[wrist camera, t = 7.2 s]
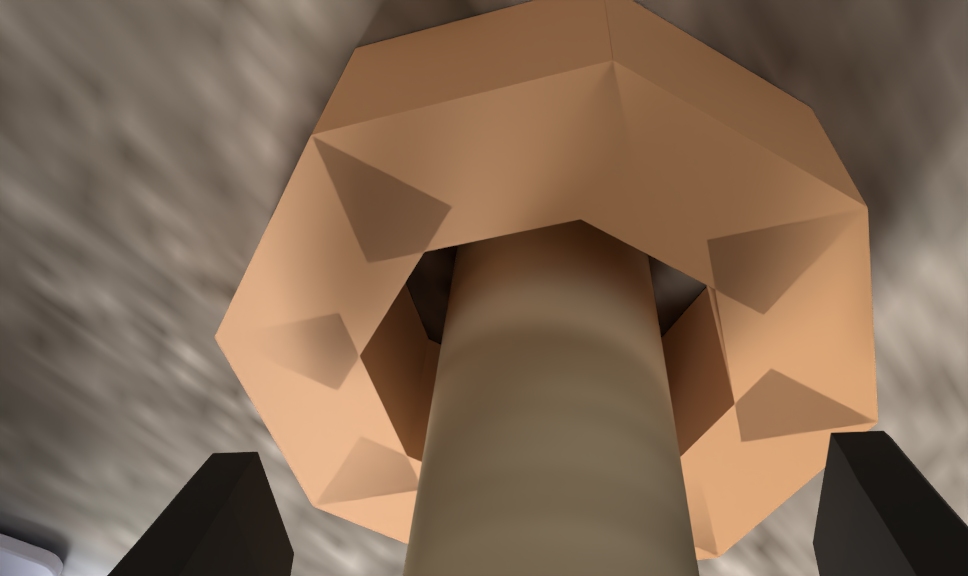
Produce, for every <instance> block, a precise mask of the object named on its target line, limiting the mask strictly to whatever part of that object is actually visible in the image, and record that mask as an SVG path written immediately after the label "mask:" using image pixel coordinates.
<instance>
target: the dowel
mask: <svg viewBox="0 0 968 576" xmlns="http://www.w3.org/2000/svg"><path fill="white" fill-rule="evenodd" d="M403 576H699V571H698V565H697V558H696V552H695V546H694V540H693V534H692V527H691V521H690V515H689V509H688V502H687V496H686V490H685V484H684V477H683V471H682V465H681V459H680V453H679V446H678V440H677V434H676V428H675V421H674V415H673V409H672V403H671V396H670V390H669V384H668V378H667V372H666V365H665V359H664V353H663V347H662V340H661V334H660V328H659V322H658V315H657V309H656V303H655V297H654V291H653V284H652V278H651V272H650V266H649V259H648V254H646V253H644V252H642V251H641V250H639V249H637V248H635V247H633V246H631V245H629V244H627V243H625V242H623V241H621V240H619V239H618V238H616V237H614V236H612V235H610V234H608V233H606V232H604V231H602V230H600V229H598V228H597V227H595V226H593V225H591V224H589V223H587V222H585V221H583V220H581V219H579V220H574V221H569V222H564V223H560V224H555V225H550V226H545V227H541V228H536V229H531V230H526V231H522V232H517V233H512V234H507V235H503V236H498V237H493V238H488V239H484V240H479V241H474V242H469V243H464V244H460V245H458V248H457V253H456V259H455V265H454V271H453V277H452V283H451V289H450V295H449V301H448V307H447V313H446V319H445V325H444V331H443V337H442V343H441V349H440V355H439V361H438V367H437V373H436V380H435V386H434V392H433V398H432V404H431V410H430V416H429V422H428V428H427V434H426V440H425V446H424V452H423V458H422V464H421V470H420V476H419V482H418V488H417V494H416V500H415V506H414V512H413V518H412V524H411V530H410V536H409V542H408V548H407V554H406V560H405V566H404V572H403Z"/></svg>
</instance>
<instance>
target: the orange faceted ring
mask: <svg viewBox="0 0 968 576" xmlns="http://www.w3.org/2000/svg"><path fill="white" fill-rule="evenodd" d="M579 219H581V220H583V221H585V222H587V223H589V224H591V225H593V226H595V227H597V228H598V229H600V230H602V231H604V232H606V233H608V234H610V235H612V236H614V237H616V238H618V239H619V240H621V241H623V242H625V243H627V244H629V245H631V246H633V247H635V248H637V249H639V250H641V251H642V252H644V253H646V254H648V255H650V256H652V257H654V258H656V259H658V260H660V261H662V262H663V263H665V264H667V265H669V266H671V267H673V268H675V269H677V270H679V271H681V272H683V273H685V274H686V275H688V276H690V277H692V278H694V279H696V280H698V281H700V282H702V283H704V284H706V285H707V287H706V288H705V289H704V291H703V292H702V293H701V294H700V295H699V296H698V297H697V298H696V300H695V301H694V302H693V303H692V304H691V305H690V306H689V307H688V309H687V310H686V311H685V312H684V313H683V314H682V315H681V316H680V318H679V319H678V320H677V321H676V322H675V323H674V324H673V325H672V327H671V328H670V329H669V330H668V331H667V332H666V333H665V335H664V336H663V337H662V338H661V340H662V347H663V353H664V359H665V365H666V372H667V378H668V384H669V390H670V396H671V403H672V409H673V415H674V421H675V428H676V434H677V440H678V446H679V453H680V459H681V465H682V471H683V477H684V484H685V490H686V496H687V502H688V509H689V515H690V521H691V527H692V534H693V540H694V546H695V552H696V558H697V560H701V559H709V558H717V557H720V556H721V555H722V554H723V553H724V552H726V551H727V550H728V549H729V548H730V547H732V546H733V545H734V544H735V543H736V542H737V541H739V540H740V539H741V538H742V537H743V536H744V535H746V534H747V533H748V532H749V531H750V530H752V529H753V528H754V527H755V526H756V525H757V524H759V523H760V522H761V521H762V520H763V519H764V518H766V517H767V516H768V515H769V514H770V513H772V512H773V511H774V510H775V509H776V508H777V507H779V506H780V505H781V504H782V503H783V502H785V501H786V500H787V499H788V498H789V497H790V496H792V495H793V494H794V493H795V492H796V491H797V490H799V489H800V488H801V487H802V486H803V485H805V484H806V483H807V482H808V481H809V480H810V479H812V478H813V477H814V476H815V475H816V474H817V473H819V472H820V471H821V470H822V469H823V468H825V466H826V459H827V453H828V447H829V441H830V435H831V433H834V432H864V431H868V430H869V429H870V428H872V427H873V426H874V425H875V424H876V423H878V409H877V388H876V368H875V348H874V327H873V307H872V286H871V266H870V245H869V225H868V207H867V206H866V204H865V202H864V200H863V199H862V197H861V195H860V193H859V192H858V190H857V188H856V186H855V184H854V183H853V181H852V179H851V177H850V176H849V174H848V172H847V170H846V169H845V167H844V165H843V163H842V161H841V160H840V158H839V156H838V154H837V153H836V151H835V149H834V147H833V146H832V144H831V142H830V140H829V138H828V137H827V135H826V133H825V131H824V130H823V128H822V126H821V124H820V123H819V121H818V119H817V117H816V115H815V114H814V112H813V110H812V108H810V107H809V106H807V105H805V104H804V103H802V102H800V101H799V100H797V99H795V98H794V97H792V96H790V95H789V94H787V93H785V92H784V91H782V90H780V89H779V88H777V87H775V86H774V85H772V84H770V83H769V82H767V81H765V80H764V79H762V78H760V77H759V76H757V75H755V74H754V73H752V72H750V71H749V70H747V69H745V68H744V67H742V66H741V65H739V64H737V63H736V62H734V61H732V60H731V59H729V58H727V57H726V56H724V55H722V54H721V53H719V52H717V51H716V50H714V49H712V48H711V47H709V46H707V45H706V44H704V43H702V42H701V41H699V40H697V39H696V38H694V37H692V36H691V35H689V34H687V33H686V32H684V31H682V30H681V29H679V28H677V27H676V26H674V25H672V24H671V23H669V22H667V21H666V20H664V19H662V18H661V17H659V16H657V15H656V14H654V13H652V12H651V11H649V10H647V9H646V8H644V7H642V6H641V5H639V4H637V3H636V2H634V1H632V0H534V1H530V2H526V3H523V4H519V5H515V6H511V7H508V8H504V9H500V10H496V11H493V12H489V13H485V14H481V15H478V16H474V17H470V18H466V19H463V20H459V21H455V22H451V23H448V24H444V25H440V26H436V27H433V28H429V29H425V30H421V31H418V32H414V33H410V34H407V35H403V36H399V37H395V38H392V39H388V40H384V41H380V42H377V43H373V44H369V45H365V46H362V47H358V48H355V50H354V52H353V54H352V56H351V58H350V60H349V62H348V64H347V66H346V68H345V70H344V72H343V73H342V75H341V77H340V79H339V81H338V83H337V85H336V87H335V89H334V91H333V93H332V95H331V97H330V99H329V101H328V103H327V105H326V107H325V109H324V111H323V113H322V115H321V117H320V119H319V120H318V122H317V124H316V126H315V128H314V130H313V132H312V134H311V136H310V138H309V140H308V143H307V145H306V147H305V149H304V151H303V153H302V155H301V157H300V159H299V161H298V163H297V166H296V168H295V170H294V172H293V174H292V176H291V178H290V180H289V182H288V184H287V186H286V189H285V191H284V193H283V195H282V197H281V199H280V201H279V203H278V205H277V207H276V209H275V212H274V214H273V216H272V218H271V220H270V222H269V224H268V226H267V228H266V230H265V233H264V235H263V237H262V239H261V241H260V243H259V245H258V247H257V249H256V251H255V253H254V256H253V258H252V260H251V262H250V264H249V266H248V268H247V270H246V272H245V274H244V276H243V279H242V281H241V283H240V285H239V287H238V289H237V291H236V293H235V295H234V297H233V300H232V302H231V304H230V306H229V308H228V310H227V312H226V314H225V316H224V318H223V320H222V323H221V325H220V327H219V329H218V331H217V333H216V335H215V339H216V341H217V343H218V344H219V346H220V348H221V350H222V351H223V353H224V355H225V356H226V358H227V360H228V361H229V363H230V365H231V367H232V368H233V370H234V372H235V373H236V375H237V377H238V379H239V380H240V382H241V384H242V385H243V387H244V389H245V391H246V392H247V394H248V396H249V397H250V399H251V401H252V403H253V404H254V406H255V408H256V409H257V411H258V413H259V415H260V416H261V418H262V420H263V421H264V423H265V425H266V426H267V428H268V430H269V432H270V433H271V435H272V437H273V438H274V440H275V442H276V444H277V445H278V447H279V449H280V450H281V452H282V454H283V456H284V457H285V459H286V461H287V462H288V464H289V466H290V468H291V469H292V471H293V473H294V474H295V476H296V478H297V480H298V481H299V483H300V485H301V486H302V488H303V490H304V492H305V493H306V495H307V497H308V498H309V500H310V502H311V503H312V505H313V506H314V507H316V508H319V509H321V510H324V511H326V512H329V513H331V514H334V515H336V516H339V517H341V518H344V519H346V520H349V521H351V522H354V523H356V524H359V525H361V526H364V527H366V528H369V529H371V530H374V531H376V532H379V533H381V534H384V535H386V536H389V537H391V538H394V539H396V540H399V541H401V542H404V543H406V544H408V542H409V536H410V530H411V524H412V518H413V512H414V506H415V500H416V494H417V488H418V482H419V476H420V470H421V464H422V458H423V452H424V446H425V440H426V434H427V428H428V422H429V416H430V410H431V404H432V398H433V392H434V386H435V380H436V373H437V367H438V361H439V355H440V349H441V345H440V344H438V343H436V342H434V341H432V340H430V339H428V336H427V334H426V332H425V329H424V327H423V324H422V322H421V319H420V317H419V315H418V312H417V310H416V307H415V305H414V302H413V300H412V298H411V295H410V293H409V290H408V288H407V285H406V283H405V282H406V280H407V279H408V277H409V276H410V274H411V272H412V271H413V269H414V268H415V266H416V264H417V263H418V261H419V260H420V258H421V256H422V255H423V253H424V252H426V251H431V250H436V249H441V248H445V247H450V246H455V245H460V244H464V243H469V242H474V241H479V240H484V239H488V238H493V237H498V236H503V235H507V234H512V233H517V232H522V231H526V230H531V229H536V228H541V227H545V226H550V225H555V224H560V223H564V222H569V221H574V220H579Z"/></svg>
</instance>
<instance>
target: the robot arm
mask: <svg viewBox="0 0 968 576" xmlns="http://www.w3.org/2000/svg"><path fill="white" fill-rule="evenodd" d="M813 546H814V551H815V555H816V560H817V565H818V570H819V575H820V576H968V526H967V525H966V524H965V523H964V522H963V520H962V519H961V518H960V517H959V516H958V515H957V514H956V513H955V511H954V510H953V509H952V508H951V507H950V506H949V505H948V504H947V502H946V501H945V500H944V499H943V498H942V497H941V496H940V494H939V493H938V492H937V491H936V490H935V489H934V487H933V486H932V485H931V484H930V483H929V482H928V481H927V479H926V478H925V477H924V476H923V475H922V474H921V472H920V471H919V470H918V469H917V468H916V466H915V465H914V464H913V463H912V462H911V461H910V459H909V458H908V457H907V456H906V455H905V453H904V452H903V451H902V450H901V449H900V448H899V446H898V445H897V444H896V443H895V442H894V440H893V439H892V438H891V437H890V436H889V435H888V434H886V433H885V432H884V431H864V432H834V433H831V435H830V441H829V447H828V453H827V459H826V466H825V472H824V478H823V484H822V490H821V496H820V502H819V508H818V515H817V521H816V527H815V533H814V539H813ZM293 556H294V552H293V549H292V546H291V544H290V541H289V538H288V535H287V532H286V530H285V527H284V524H283V521H282V519H281V516H280V513H279V510H278V507H277V505H276V502H275V499H274V496H273V493H272V491H271V488H270V485H269V482H268V480H267V477H266V474H265V471H264V468H263V466H262V463H261V460H260V457H259V454H258V452H238V453H213V454H212V455H211V456H210V457H209V458H208V459H207V461H206V462H205V463H204V464H203V465H202V466H201V467H200V469H199V470H198V471H197V472H196V473H195V474H194V475H193V477H192V478H191V479H190V480H189V481H188V482H187V484H186V485H185V486H184V487H183V488H182V490H181V491H180V492H179V493H178V494H177V495H176V497H175V498H174V499H173V500H172V501H171V503H170V504H169V505H168V506H167V507H166V508H165V510H164V511H163V512H162V513H161V514H160V516H159V517H158V518H157V519H156V520H155V521H154V523H153V524H152V525H151V526H150V527H149V528H148V530H147V531H146V532H145V533H144V534H143V536H142V537H141V538H140V539H139V540H138V541H137V543H136V544H135V545H134V546H133V547H132V548H131V549H130V551H129V552H128V553H127V554H126V555H125V556H124V557H123V558H122V560H121V561H120V562H119V563H118V564H117V565H116V566H115V568H114V569H113V570H112V571H111V572H110V573H109V574H108V575H107V576H290V575H291V569H292V563H293ZM62 570H63V564H62V562H61V560H60V558H59V557H58V556H56V555H55V554H54V553H52V552H50V551H48V550H45V549H43V548H40V547H37V546H34V545H31V544H29V543H26V542H23V541H20V540H17V539H15V538H12V537H9V536H6V535H4V534H1V533H0V576H60V574H61V572H62Z"/></svg>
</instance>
